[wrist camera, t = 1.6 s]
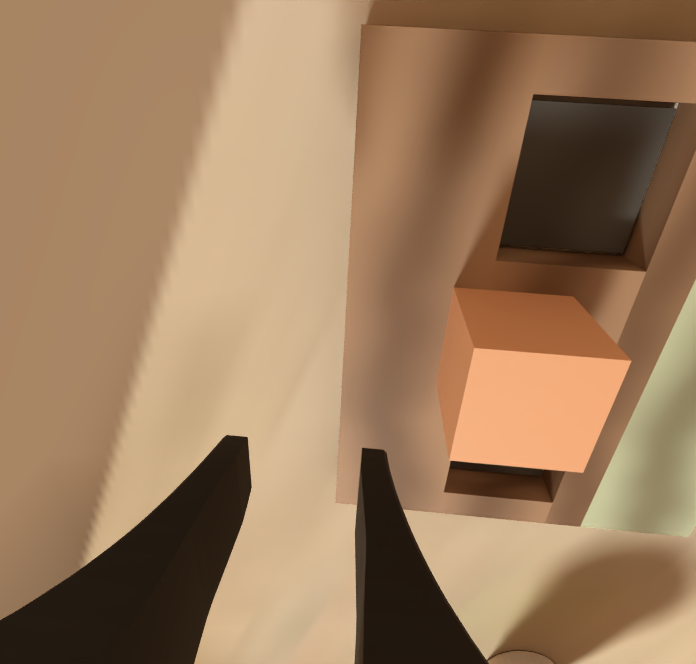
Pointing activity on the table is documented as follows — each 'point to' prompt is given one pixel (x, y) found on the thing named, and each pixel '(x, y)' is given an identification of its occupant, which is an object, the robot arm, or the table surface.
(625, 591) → the table surface
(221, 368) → the table surface
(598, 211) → the trap board
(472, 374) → the block
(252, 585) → the table surface
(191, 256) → the table surface
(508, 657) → the coffee cup
